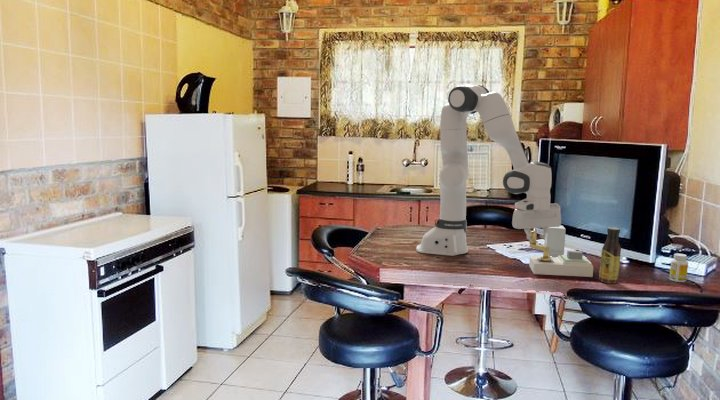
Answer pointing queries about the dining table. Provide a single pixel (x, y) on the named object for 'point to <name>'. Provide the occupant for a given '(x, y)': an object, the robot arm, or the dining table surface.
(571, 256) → the sage cover
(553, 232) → the supplement box
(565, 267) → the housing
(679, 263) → the supplement bottle
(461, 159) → the robot arm
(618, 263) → the sauce bottle
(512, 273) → the dining table surface
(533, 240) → the brass crank key
